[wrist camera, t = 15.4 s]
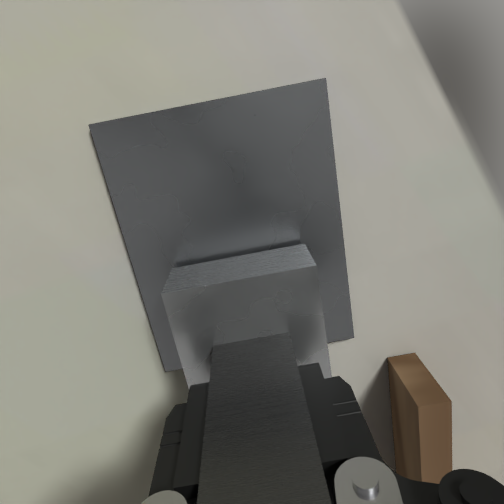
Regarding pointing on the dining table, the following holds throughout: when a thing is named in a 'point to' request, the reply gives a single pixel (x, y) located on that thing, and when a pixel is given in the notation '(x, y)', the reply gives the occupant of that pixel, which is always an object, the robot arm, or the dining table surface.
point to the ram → (253, 372)
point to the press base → (228, 192)
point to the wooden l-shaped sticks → (419, 421)
